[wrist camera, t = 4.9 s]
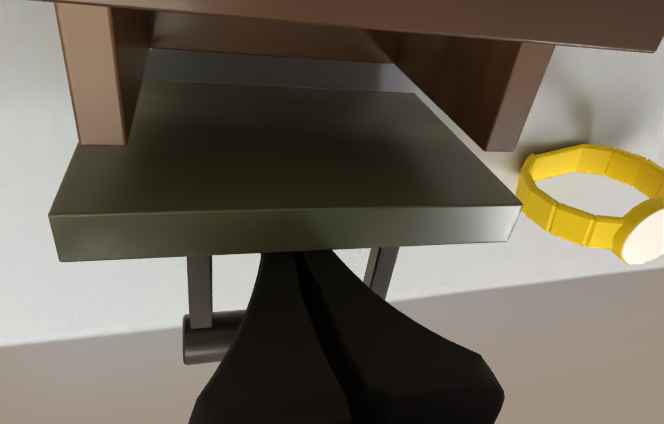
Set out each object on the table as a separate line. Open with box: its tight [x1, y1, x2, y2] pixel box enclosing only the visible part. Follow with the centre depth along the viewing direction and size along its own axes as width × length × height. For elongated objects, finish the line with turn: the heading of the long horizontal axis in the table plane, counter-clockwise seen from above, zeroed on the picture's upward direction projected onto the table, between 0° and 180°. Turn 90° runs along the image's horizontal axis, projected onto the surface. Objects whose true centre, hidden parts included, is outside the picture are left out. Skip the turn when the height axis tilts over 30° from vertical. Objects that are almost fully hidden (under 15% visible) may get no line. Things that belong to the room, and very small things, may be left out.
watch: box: [516, 143, 664, 265], centre depth 20 cm, size 6×3×6 cm, turn 93°
